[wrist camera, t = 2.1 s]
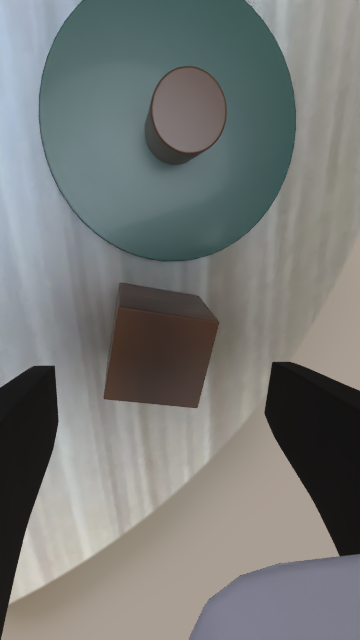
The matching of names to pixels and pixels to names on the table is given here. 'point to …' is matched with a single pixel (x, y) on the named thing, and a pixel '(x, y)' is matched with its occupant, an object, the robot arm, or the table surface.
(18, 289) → the table surface
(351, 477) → the robot arm
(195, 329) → the block
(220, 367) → the table surface
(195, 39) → the lid
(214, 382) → the table surface
